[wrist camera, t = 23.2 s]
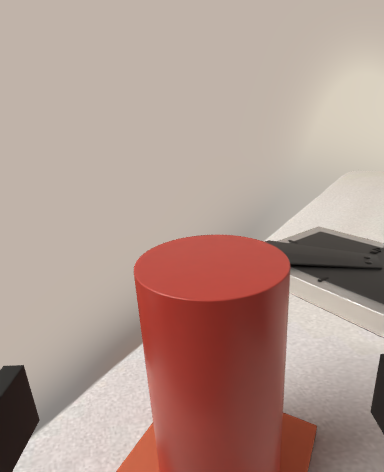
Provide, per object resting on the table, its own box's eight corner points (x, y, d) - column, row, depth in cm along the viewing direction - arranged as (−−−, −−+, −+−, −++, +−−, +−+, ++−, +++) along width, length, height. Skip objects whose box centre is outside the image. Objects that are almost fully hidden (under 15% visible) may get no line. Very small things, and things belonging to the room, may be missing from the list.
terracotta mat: (274, 625, 12) (274, 618, 12) (99, 501, 16) (97, 495, 16) (316, 431, 19) (317, 424, 19) (187, 380, 24) (187, 375, 23)
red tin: (261, 562, 13) (268, 317, 9) (136, 493, 16) (99, 281, 12) (289, 433, 19) (302, 242, 15) (192, 398, 22) (179, 229, 17)
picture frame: (240, 269, 41) (429, 359, 24) (240, 248, 40) (436, 328, 23) (317, 239, 49) (496, 291, 32) (318, 221, 48) (504, 266, 31)
